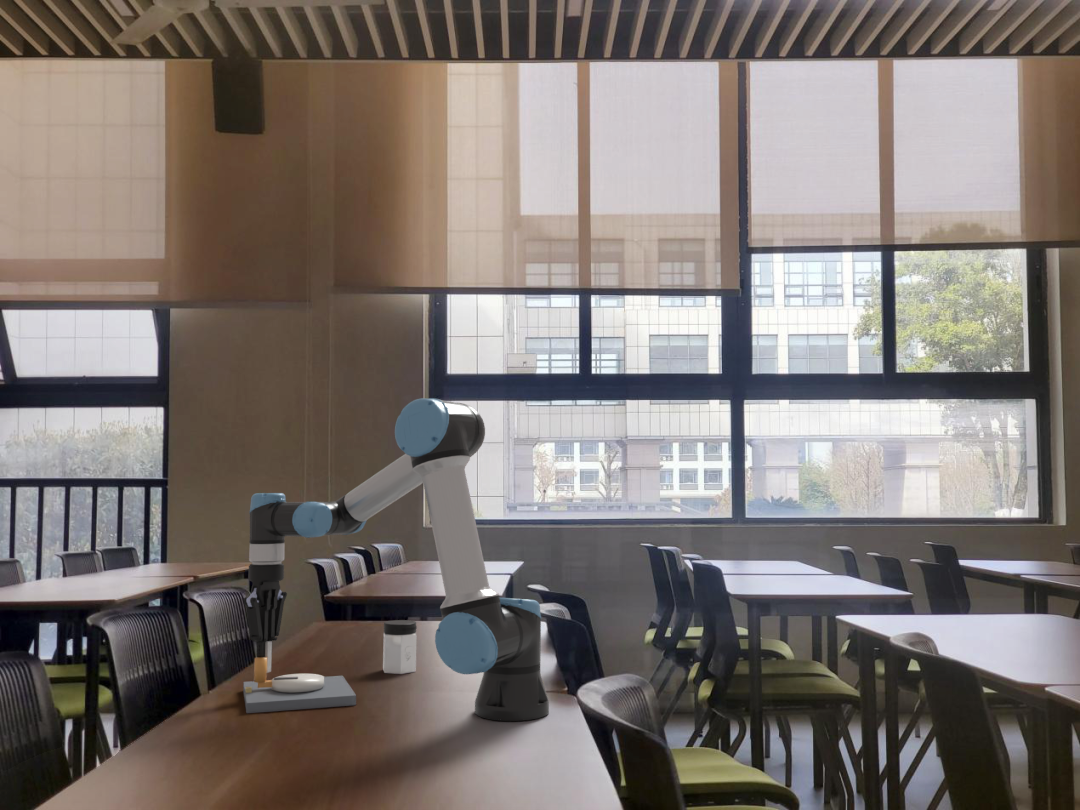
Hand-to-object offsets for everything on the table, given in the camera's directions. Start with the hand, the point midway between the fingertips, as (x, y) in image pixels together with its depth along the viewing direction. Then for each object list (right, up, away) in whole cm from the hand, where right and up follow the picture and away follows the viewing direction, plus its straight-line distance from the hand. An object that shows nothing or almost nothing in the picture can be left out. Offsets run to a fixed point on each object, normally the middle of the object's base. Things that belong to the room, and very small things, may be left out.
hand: (263, 671), depth 199 cm
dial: (+6, -3, -1) cm, 7 cm away
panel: (+8, -5, -1) cm, 9 cm away
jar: (+25, -9, +29) cm, 40 cm away
